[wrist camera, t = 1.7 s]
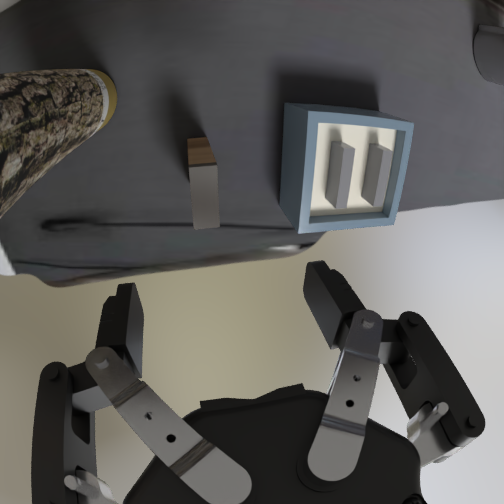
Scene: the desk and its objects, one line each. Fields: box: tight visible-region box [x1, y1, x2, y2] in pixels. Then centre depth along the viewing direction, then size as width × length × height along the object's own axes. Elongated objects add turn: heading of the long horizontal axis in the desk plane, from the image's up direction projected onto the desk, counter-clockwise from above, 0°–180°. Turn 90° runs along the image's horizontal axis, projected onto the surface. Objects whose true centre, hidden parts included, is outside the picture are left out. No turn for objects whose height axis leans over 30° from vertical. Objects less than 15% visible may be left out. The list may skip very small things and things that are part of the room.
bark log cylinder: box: [0, 69, 117, 218], centre depth 13 cm, size 7×7×25 cm
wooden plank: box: [187, 137, 220, 230], centre depth 26 cm, size 5×2×10 cm, turn 0°
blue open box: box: [279, 103, 414, 234], centre depth 29 cm, size 12×12×8 cm
